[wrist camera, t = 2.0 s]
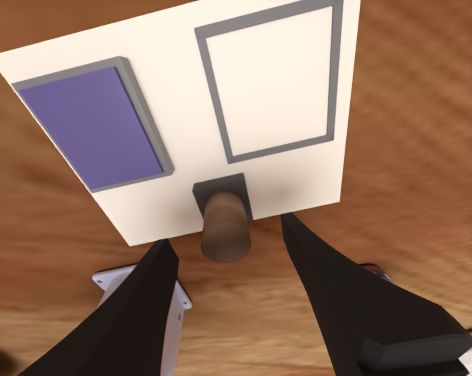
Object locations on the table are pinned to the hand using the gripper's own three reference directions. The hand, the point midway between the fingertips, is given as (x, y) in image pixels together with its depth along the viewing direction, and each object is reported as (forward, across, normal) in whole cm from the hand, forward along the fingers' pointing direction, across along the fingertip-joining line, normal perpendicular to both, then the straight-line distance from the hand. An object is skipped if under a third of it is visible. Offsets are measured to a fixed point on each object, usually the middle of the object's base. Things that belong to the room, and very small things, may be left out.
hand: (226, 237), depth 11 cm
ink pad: (+5, +6, -7) cm, 10 cm away
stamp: (+5, 0, 0) cm, 5 cm away
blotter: (+5, 0, -4) cm, 7 cm away
